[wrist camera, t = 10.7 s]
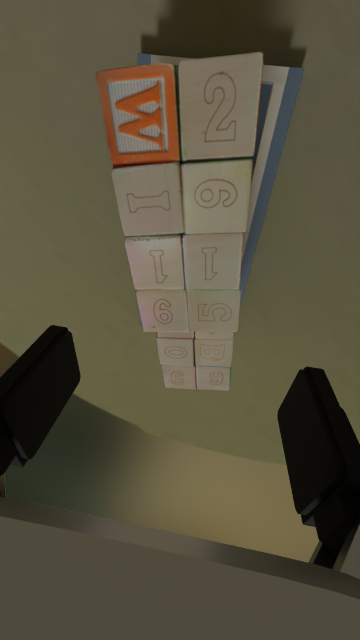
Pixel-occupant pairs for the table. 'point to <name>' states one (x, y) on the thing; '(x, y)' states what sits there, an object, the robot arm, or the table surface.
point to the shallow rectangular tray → (260, 144)
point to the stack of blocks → (185, 201)
